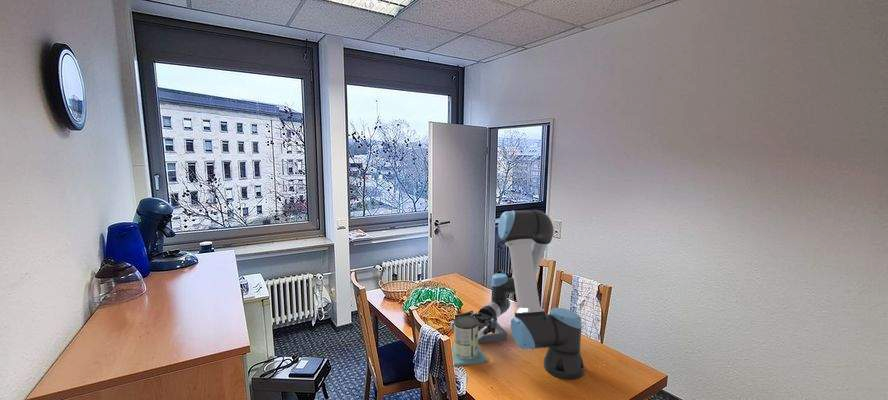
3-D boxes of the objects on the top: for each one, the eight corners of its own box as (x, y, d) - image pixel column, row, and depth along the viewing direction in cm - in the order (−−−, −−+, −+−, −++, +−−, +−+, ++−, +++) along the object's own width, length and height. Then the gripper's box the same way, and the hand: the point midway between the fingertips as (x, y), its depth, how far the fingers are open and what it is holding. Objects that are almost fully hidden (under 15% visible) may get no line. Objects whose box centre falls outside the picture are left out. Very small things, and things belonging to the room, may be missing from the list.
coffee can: (454, 345, 156) (454, 314, 154) (478, 346, 155) (478, 315, 153) (452, 358, 146) (452, 325, 144) (478, 360, 145) (478, 327, 143)
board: (487, 361, 145) (487, 359, 145) (454, 366, 142) (454, 364, 142) (476, 344, 159) (476, 342, 159) (445, 348, 155) (445, 346, 155)
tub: (506, 339, 163) (506, 333, 163) (477, 343, 160) (477, 336, 160) (495, 325, 177) (495, 319, 176) (468, 328, 173) (468, 322, 173)
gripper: (513, 328, 159) (490, 348, 142) (466, 313, 173) (440, 330, 156) (514, 312, 158) (491, 330, 141) (466, 299, 172) (440, 314, 155)
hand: (464, 330), depth 148 cm, fingers open, 13 cm apart
